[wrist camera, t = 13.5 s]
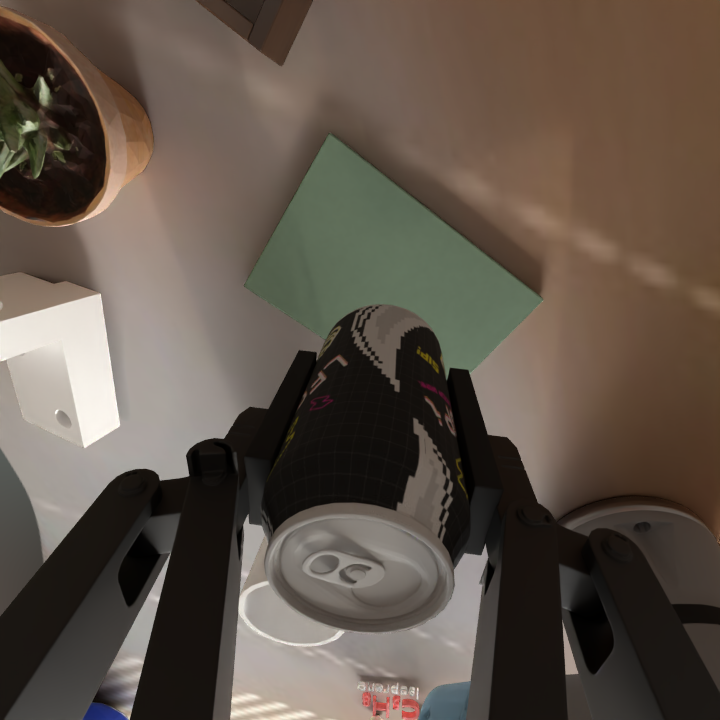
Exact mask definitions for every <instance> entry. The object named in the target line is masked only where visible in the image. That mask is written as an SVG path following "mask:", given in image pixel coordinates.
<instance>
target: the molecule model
mask: <svg viewBox="0 0 720 720" xmlns="http://www.w3.org/2000/svg"><path fill="white" fill-rule="evenodd" d="M361 685H362V686H364V687H361ZM358 689H359V690H361V691H364V690H365V689H366V683H365V682H362V681H361V682H359V683H358ZM393 689H397V690H393ZM402 690H406V691H402ZM368 691H370V692H371V691H373V692H374V683H373V687H372V688H370V687H369V682H368ZM376 691H377V692H379V693H380V692H382V691H383V692H384V693H387V692H388V693H389V684H388V688H387V689H383V685H382V684H380V683H377V684H376ZM409 691H410V696H414V695H415V688H414V687H410V688H409ZM391 692H392V693H393V694H398V682H397V685H392V686H391ZM400 694H401V695H407V694H408V688H407V687H406V686H401V687H400ZM418 696H419V688H417V696H416V698H417V700H418ZM362 699H363V705H364V706H370V700H371V694H370V693H368V692H365V693H363V697H362ZM399 702H400V696H394V697H393V709H395V710H399ZM404 707H411V708H413V709H415V711H414V712H405V711H403V710H402V719H405V720H416V719H417V718H418V717H419V714H420V712H419V705H418V703H417V702H416V701H414V700H411V699H403V700H402V708H404ZM376 710H380V711H386V718H389V697H387V703H379V702H376V696H374V695H373V716H372V717H371V719H370V720H383V719H382V717H380V716H379V715H376Z"/></svg>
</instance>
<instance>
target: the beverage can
mask: <svg viewBox="0 0 720 720" xmlns="http://www.w3.org/2000/svg"><path fill="white" fill-rule="evenodd" d="M261 521H262V527H263V530H264V533H265V536H266V539H267V542H268V546H267V550H266V554H265V558H264V567H265V574H266V577H267V580H268V582H269V585H270V586H271V588H272V589H273V591H274V592H275V594H276V595H277V596H278V597H279V598H280V599H281V600H282V601H283V602H284V603H285V604H286V605H287V606H288V607H290V608H291V609H293V610H294V611H295V612H297V613H298V614H300V615H302V616H304V617H305V618H307V619H309V620H311V621H313V622H316V623H318V624H321V625H324V626H326V627H329V628H333V629H337V630H341V631H345V632H352V633H359V634H386V633H395V632H400V631H405V630H409V629H412V628H415V627H417V626H420V625H423V624H424V623H426V622H428V621H429V620H431V619H433V618H434V617H436V616H437V615H438V614H439V613H440V612H441V611H442V610H443V609H444V608H445V607H446V605H447V604H448V602H449V601H450V599H451V597H452V593H453V590H454V569H455V567H456V566H457V564H458V562H459V561H460V559H461V557H462V556H463V554H464V552H465V551H466V547H467V544H468V540H469V537H470V530H471V516H470V505H469V500H468V494H467V489H466V483H465V478H464V472H463V467H462V461H461V456H460V450H459V444H458V439H457V433H456V428H455V422H454V417H453V411H452V406H451V400H450V395H449V389H448V384H447V378H446V373H445V367H444V362H443V356H442V351H441V347H440V344H439V341H438V339H437V337H436V335H435V333H434V331H433V330H432V329H431V327H430V326H429V325H428V324H427V323H426V321H424V320H423V319H422V318H420V317H419V316H418V315H417V314H415V313H413V312H411V311H409V310H407V309H405V308H401V307H398V306H394V305H385V304H377V305H368V306H365V307H361V308H358V309H356V310H354V311H352V312H350V313H348V314H346V315H345V316H344V317H343V318H341V319H340V320H339V321H338V322H337V323H336V324H335V325H334V327H333V328H332V329H331V330H330V332H329V334H328V336H327V338H326V341H325V343H324V345H323V348H322V350H321V352H320V355H319V357H318V360H317V362H316V365H315V367H314V369H313V372H312V374H311V377H310V379H309V381H308V384H307V386H306V389H305V391H304V393H303V396H302V398H301V401H300V403H299V405H298V408H297V410H296V413H295V415H294V417H293V420H292V422H291V425H290V427H289V429H288V432H287V434H286V437H285V439H284V441H283V444H282V446H281V449H280V451H279V453H278V456H277V458H276V461H275V463H274V465H273V468H272V470H271V472H270V474H269V477H268V479H267V481H266V484H265V487H264V492H263V497H262V502H261Z"/></svg>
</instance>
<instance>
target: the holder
mask: <svg viewBox="0 0 720 720" xmlns="http://www.w3.org/2000/svg"><path fill="white" fill-rule="evenodd" d="M196 1H197V2H198V3H199V4H201V5H202V6H203V7H204V8H206V9H207V10H208V11H209V12H211V13H212V14H213V15H214V16H216V17H217V18H218V19H220V20H221V21H222V22H223V23H225V24H226V25H227V26H228V27H230V28H231V29H232V30H233V31H235V32H236V33H237V34H238V35H240V36H241V37H242V38H243V39H245V40H246V41H247V42H249V43H250V44H251V45H252V46H254V47H255V48H256V49H257V50H259V51H260V52H261V53H263V54H264V55H266V56H267V57H268V58H270V59H271V60H273V61H274V62H276V63H277V64H278V65H280V66H282V65H283V63H284V61H285V59H286V57H287V55H288V53H289V50H290V48H291V46H292V44H293V42H294V40H295V38H296V35H297V33H298V31H299V29H300V27H301V25H302V23H303V20H304V18H305V16H306V14H307V12H308V10H309V8H310V6H311V3H312V1H313V0H264V3H263V5H262V7H261V10H260V12H259V15H258V17H257V19H256V22H255V24H253V23H252V22H251V21H250V20H248V19H247V18H246V17H245V16H243V15H242V14H241V13H240V12H238V11H237V10H236V9H235V8H234V7H232V6H231V5H230V4H229V3H227V2H226V1H225V0H196Z"/></svg>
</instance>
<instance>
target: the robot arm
mask: <svg viewBox="0 0 720 720" xmlns="http://www.w3.org/2000/svg"><path fill="white" fill-rule="evenodd" d="M316 358H317V352H310V351H301V350H299V351H298V353H297V355H296V357H295V359H294V361H293V363H292V365H291V367H290V368H289V370H288V372H287V374H286V376H285V378H284V380H283V382H282V384H281V386H280V388H279V390H278V392H277V394H276V395H275V397H274V399H273V401H272V403H271V405H270V407H269V409H263V408H255V407H249V408H248V409H246V410H245V411H243V412H242V413H241V414H239V416H238V417H237V419H236V420H235V422H234V424H233V426H232V427H231V428H230V430H229V432H228V434H227V435H226V437H225V438H224V439H218V438H213V439H208V440H204V441H202V442H199V443H197V444H195V445H194V446H193V447H192V448H190V449H189V451H188V453H187V455H186V458H187V464H188V470H189V476H188V477H184V478H179V479H170V480H162V481H160V480H159V476H158V474H156V473H155V472H154V471H152V470H148V469H135V470H132V471H128V472H125V473H123V474H121V475H119V476H117V477H116V478H115V479H114V480H113V481H111V482H110V483H109V484H108V485H107V487H106V488H105V489H104V490H103V492H102V493H101V494H100V495H99V497H98V498H97V499H96V500H95V501H94V503H93V504H92V505H91V506H90V508H89V509H88V510H87V511H86V512H85V514H84V515H83V516H82V517H81V519H80V520H79V521H78V522H77V523H76V525H75V526H74V527H73V528H72V530H71V531H70V532H69V533H68V534H67V536H66V537H65V538H64V539H63V541H62V542H61V543H60V544H59V545H58V547H57V548H56V549H55V550H54V552H53V553H52V554H51V555H50V556H49V558H48V559H47V560H46V561H45V563H44V564H43V565H42V566H41V568H40V569H39V570H38V571H37V572H36V574H35V575H34V576H33V577H32V579H31V580H30V581H29V582H28V583H27V585H26V586H25V587H24V588H23V589H22V591H21V592H20V593H19V594H18V596H17V597H16V598H15V599H14V600H13V602H12V603H11V604H10V605H9V607H8V608H7V609H6V610H5V611H4V613H3V614H2V615H1V616H0V720H83V718H84V716H85V714H86V712H87V710H88V708H89V706H90V705H91V703H92V701H93V699H94V697H95V695H96V693H97V691H98V689H99V687H100V686H101V684H102V682H103V680H104V678H105V676H106V674H107V672H108V670H109V668H110V667H111V665H112V663H113V661H114V659H115V657H116V655H117V653H118V651H119V649H120V648H121V646H122V644H123V642H124V640H125V638H126V636H127V634H128V632H129V630H130V629H131V627H132V625H133V623H134V621H135V619H136V617H137V615H138V613H139V611H140V610H141V608H142V606H143V604H144V602H145V600H146V598H147V596H148V594H149V592H150V591H151V589H152V587H153V585H154V583H155V581H156V579H157V577H158V575H159V573H160V572H161V570H162V568H163V566H164V564H165V562H166V560H167V558H168V556H169V554H170V552H171V556H170V560H169V564H168V568H167V572H166V576H165V580H164V584H163V588H162V592H161V596H160V600H159V604H158V608H157V612H156V616H155V620H154V624H153V628H152V632H151V636H150V640H149V644H148V648H147V652H146V656H145V660H144V664H143V668H142V672H141V676H140V680H139V685H138V689H137V693H136V697H135V701H134V705H133V709H132V713H131V717H130V720H230V712H231V699H232V686H233V673H234V660H235V646H236V633H237V620H238V607H239V594H240V581H241V567H242V554H243V541H244V530H243V524H244V522H245V519H246V517H247V515H248V513H249V524H254V525H262V521H261V502H262V497H263V492H264V487H265V484H266V481H267V479H268V477H269V474H270V472H271V470H272V468H273V465H274V463H275V461H276V458H277V456H278V453H279V451H280V449H281V446H282V444H283V441H284V439H285V437H286V434H287V432H288V429H289V427H290V425H291V422H292V420H293V417H294V415H295V413H296V410H297V408H298V405H299V403H300V401H301V398H302V396H303V393H304V391H305V389H306V386H307V384H308V381H309V379H310V377H311V374H312V372H313V369H314V367H315V365H316ZM447 384H448V389H449V395H450V400H451V406H452V411H453V417H454V422H455V428H456V433H457V439H458V444H459V450H460V456H461V461H462V467H463V472H464V478H465V483H466V489H467V494H468V500H469V505H470V516H471V530H470V537H469V540H468V544H467V547H466V551H465V552H464V553H467V554H475V555H482V552H483V549H484V546H485V543H486V548H487V553H488V557H489V558H488V561H487V563H486V566H485V569H484V572H483V574H482V577H481V580H480V583H479V584H480V585H483V587H482V595H481V603H480V611H479V619H478V627H477V635H476V643H475V651H474V659H473V667H472V675H471V681H469V682H461V683H454V684H446V685H441V686H438V687H436V688H435V689H433V690H432V691H431V692H430V693H429V694H428V696H427V697H426V699H425V701H424V703H423V705H422V708H421V711H420V714H419V718H418V720H720V546H719V544H718V542H717V540H716V538H715V537H714V535H713V534H712V533H711V531H710V530H709V529H708V528H707V526H706V525H705V524H704V523H703V522H702V520H701V519H700V518H699V517H698V516H697V515H696V514H695V513H693V512H692V511H691V510H689V509H687V508H686V507H684V506H682V505H680V504H677V503H675V502H672V501H668V500H665V499H660V498H653V497H641V496H632V497H619V498H612V499H607V500H603V501H599V502H595V503H592V504H589V505H587V506H584V507H582V508H579V509H577V510H575V511H573V512H571V513H570V514H568V515H566V516H565V517H563V518H562V519H561V520H559V521H558V522H557V523H556V522H555V518H554V517H553V516H552V514H551V513H550V512H549V510H547V509H546V508H545V507H543V506H542V505H541V504H539V503H538V502H537V499H536V497H535V494H534V491H533V489H532V486H531V484H530V481H529V478H528V476H527V473H526V471H525V470H524V465H523V463H522V461H521V457H520V455H519V452H518V450H517V447H516V446H515V445H514V444H513V443H512V442H511V441H510V440H509V439H508V438H507V437H500V436H492V435H488V434H487V431H486V427H485V424H484V421H483V417H482V414H481V411H480V407H479V404H478V401H477V397H476V394H475V391H474V387H473V384H472V380H471V377H470V374H469V370H467V369H458V368H450V369H449V374H448V379H447ZM562 620H563V623H564V626H565V630H566V633H567V637H568V640H569V643H570V647H571V650H572V653H573V657H574V660H575V663H576V667H577V670H578V673H579V674H571V675H565V659H564V641H563V624H562Z"/></svg>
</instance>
